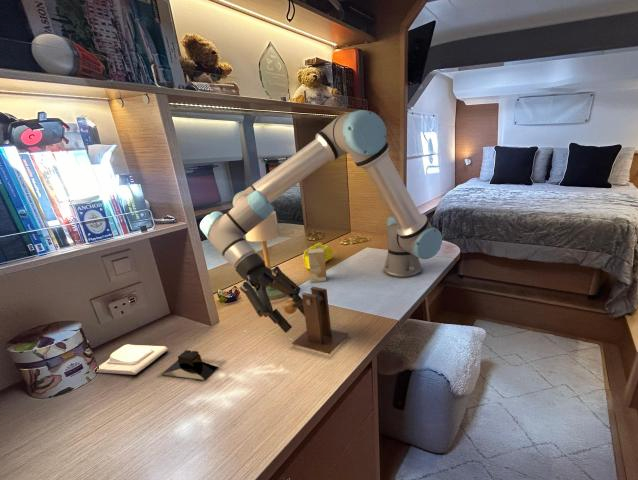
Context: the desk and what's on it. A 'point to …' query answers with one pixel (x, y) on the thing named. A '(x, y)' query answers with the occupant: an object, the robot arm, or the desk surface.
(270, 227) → the lamp
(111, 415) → the desk surface
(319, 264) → the cosmetic box
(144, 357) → the light switch
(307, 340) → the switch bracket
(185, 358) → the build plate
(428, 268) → the desk surface
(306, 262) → the yellow toy chassis
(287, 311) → the lever with ball knob
